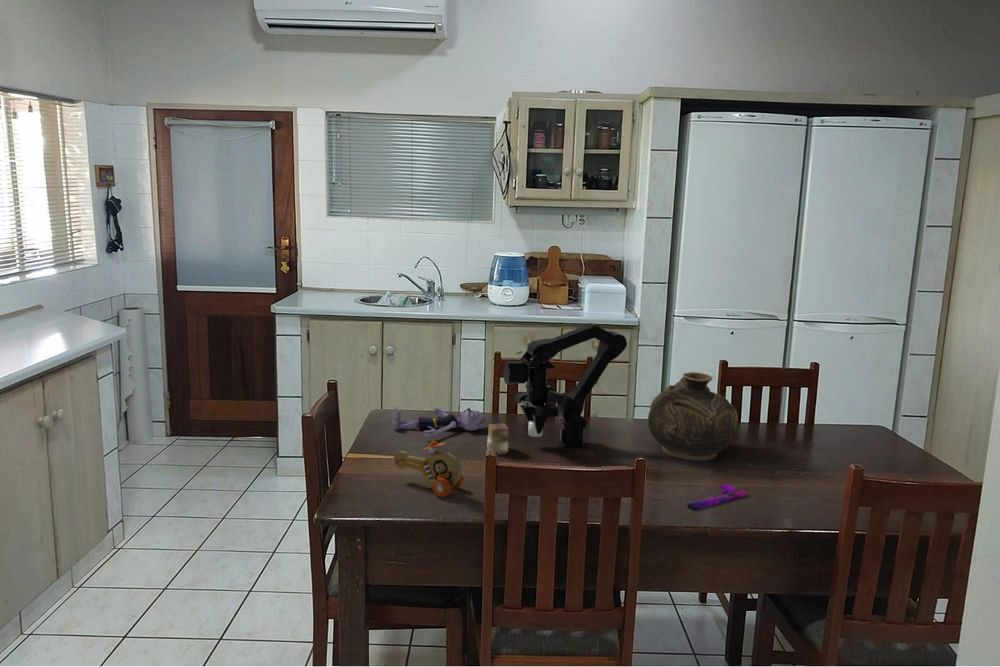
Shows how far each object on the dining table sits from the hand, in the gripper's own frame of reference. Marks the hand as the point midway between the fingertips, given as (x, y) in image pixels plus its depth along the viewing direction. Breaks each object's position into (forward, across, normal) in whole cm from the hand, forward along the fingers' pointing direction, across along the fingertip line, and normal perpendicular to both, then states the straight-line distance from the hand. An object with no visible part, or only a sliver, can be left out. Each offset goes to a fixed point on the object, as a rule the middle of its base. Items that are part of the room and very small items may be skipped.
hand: (535, 431), depth 233 cm
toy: (+6, +26, +22) cm, 35 cm away
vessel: (+5, -20, -44) cm, 49 cm away
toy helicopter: (+5, -19, +41) cm, 45 cm away
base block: (+5, 0, +12) cm, 14 cm away
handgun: (+6, -51, -28) cm, 59 cm away
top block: (+1, 0, +12) cm, 12 cm away
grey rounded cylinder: (+1, 0, 0) cm, 1 cm away
